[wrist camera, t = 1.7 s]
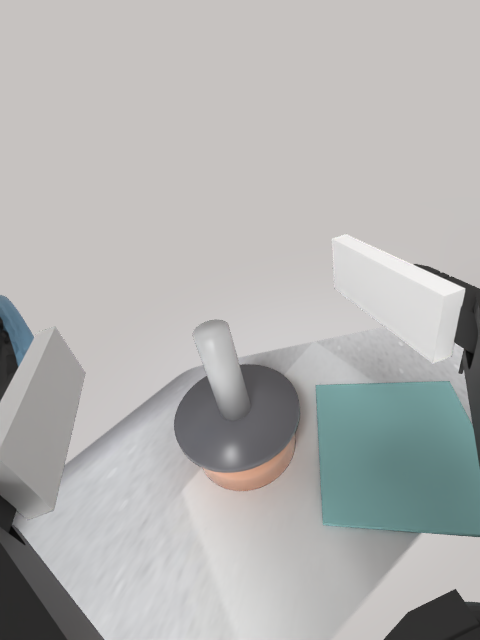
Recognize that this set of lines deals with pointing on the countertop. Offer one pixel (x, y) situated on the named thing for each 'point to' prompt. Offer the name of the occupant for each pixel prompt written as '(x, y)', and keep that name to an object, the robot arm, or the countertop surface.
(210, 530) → the countertop surface
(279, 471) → the orange bowl
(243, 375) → the lid
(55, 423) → the robot arm
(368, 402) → the mat
